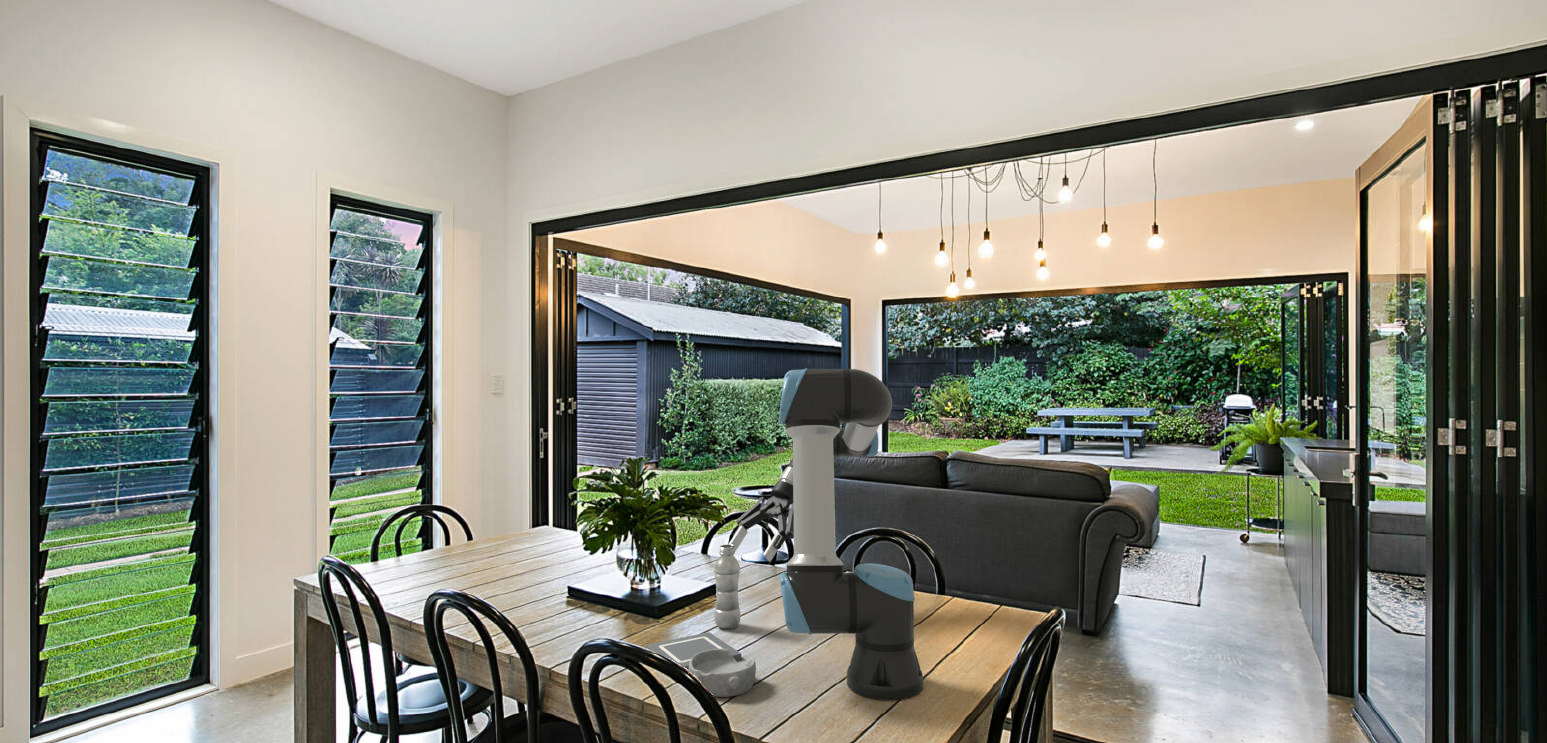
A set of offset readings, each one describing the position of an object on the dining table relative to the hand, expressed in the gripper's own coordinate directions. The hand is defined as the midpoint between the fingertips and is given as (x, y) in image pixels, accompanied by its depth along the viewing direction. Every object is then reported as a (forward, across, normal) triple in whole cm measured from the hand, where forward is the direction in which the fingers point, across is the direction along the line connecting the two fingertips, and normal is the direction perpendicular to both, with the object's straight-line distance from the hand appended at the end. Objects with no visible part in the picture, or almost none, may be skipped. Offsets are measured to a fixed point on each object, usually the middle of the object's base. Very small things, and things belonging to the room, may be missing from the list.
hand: (748, 553), depth 187 cm
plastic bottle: (+17, -1, -6) cm, 19 cm away
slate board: (+29, -9, +6) cm, 31 cm away
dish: (+34, -26, +10) cm, 44 cm away
